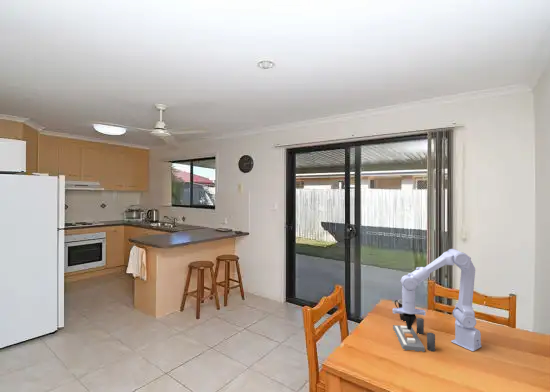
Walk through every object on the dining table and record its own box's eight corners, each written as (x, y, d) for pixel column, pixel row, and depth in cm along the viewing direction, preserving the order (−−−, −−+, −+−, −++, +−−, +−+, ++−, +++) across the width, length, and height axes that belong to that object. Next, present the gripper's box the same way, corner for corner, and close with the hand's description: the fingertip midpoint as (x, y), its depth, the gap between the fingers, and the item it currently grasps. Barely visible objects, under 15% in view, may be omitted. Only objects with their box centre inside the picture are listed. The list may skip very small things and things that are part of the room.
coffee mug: (418, 323, 151) (417, 305, 151) (402, 323, 151) (401, 305, 151) (408, 313, 163) (407, 297, 163) (393, 314, 163) (393, 297, 163)
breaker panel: (393, 328, 145) (393, 322, 145) (411, 330, 144) (411, 323, 144) (403, 350, 126) (403, 342, 126) (424, 351, 124) (424, 344, 124)
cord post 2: (436, 350, 125) (436, 334, 125) (432, 352, 124) (432, 336, 124) (429, 346, 128) (429, 331, 128) (425, 348, 126) (425, 333, 126)
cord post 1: (425, 333, 140) (425, 319, 140) (421, 335, 138) (421, 321, 138) (419, 331, 143) (419, 317, 143) (415, 332, 141) (415, 319, 141)
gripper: (421, 298, 137) (422, 325, 137) (390, 297, 140) (391, 323, 140) (426, 304, 130) (427, 332, 130) (394, 302, 133) (394, 330, 133)
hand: (409, 328), depth 134 cm, fingers closed
